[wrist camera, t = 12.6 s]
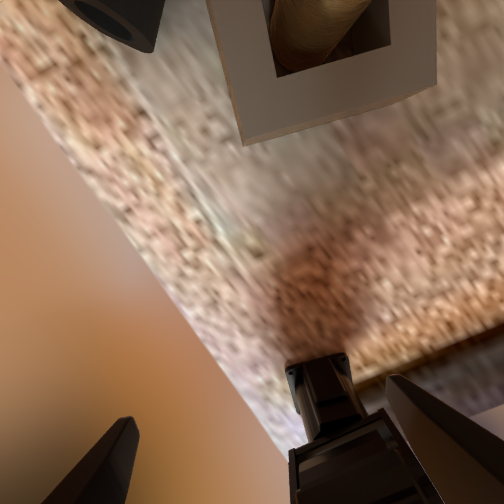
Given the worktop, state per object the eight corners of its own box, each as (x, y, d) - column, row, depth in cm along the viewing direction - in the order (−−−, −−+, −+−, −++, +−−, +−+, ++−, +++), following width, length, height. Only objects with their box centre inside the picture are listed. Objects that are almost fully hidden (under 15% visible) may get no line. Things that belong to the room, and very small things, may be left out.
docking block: (392, 104, 17) (436, 84, 14) (242, 146, 18) (245, 139, 14) (379, -115, 14) (434, -226, 10) (190, -58, 14) (173, -144, 10)
